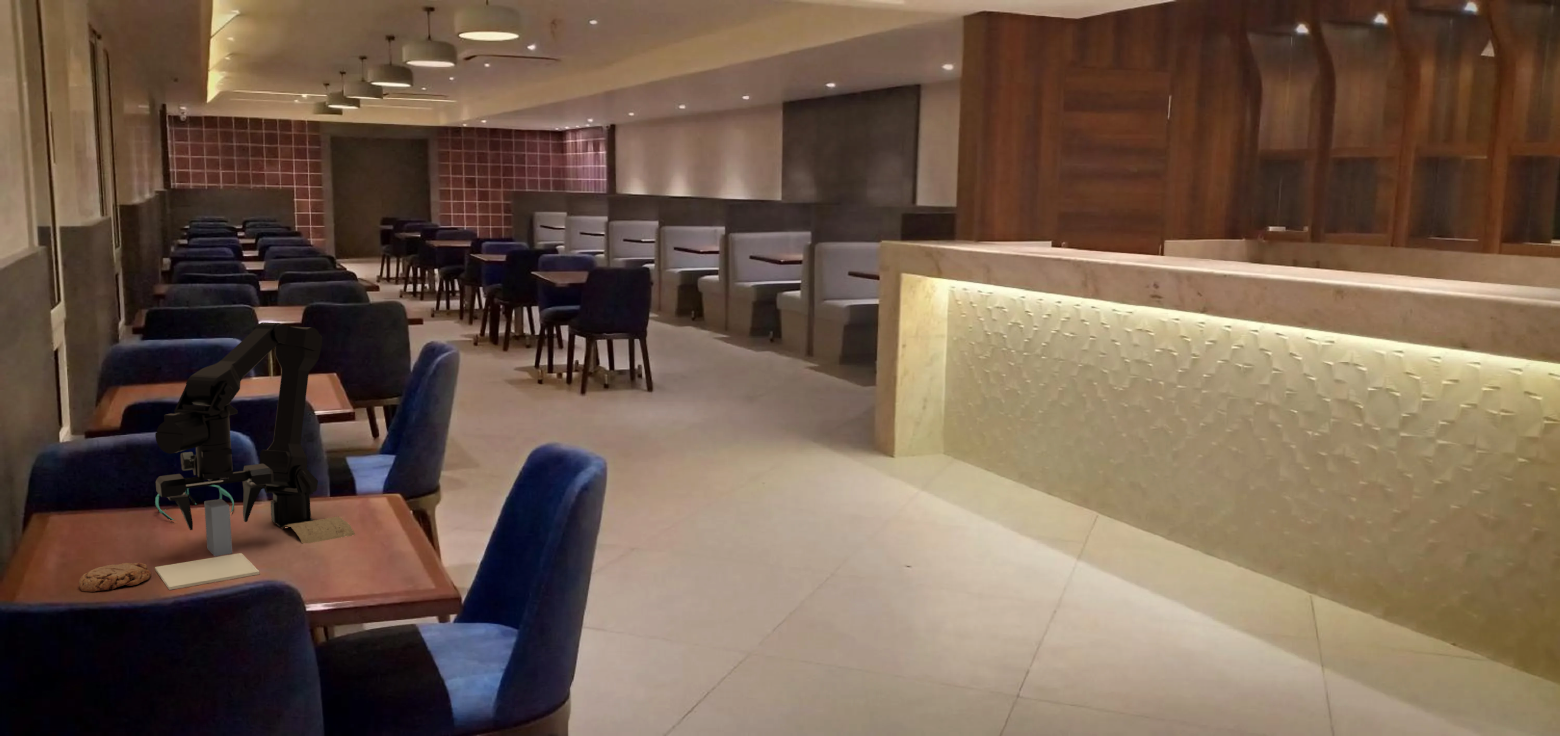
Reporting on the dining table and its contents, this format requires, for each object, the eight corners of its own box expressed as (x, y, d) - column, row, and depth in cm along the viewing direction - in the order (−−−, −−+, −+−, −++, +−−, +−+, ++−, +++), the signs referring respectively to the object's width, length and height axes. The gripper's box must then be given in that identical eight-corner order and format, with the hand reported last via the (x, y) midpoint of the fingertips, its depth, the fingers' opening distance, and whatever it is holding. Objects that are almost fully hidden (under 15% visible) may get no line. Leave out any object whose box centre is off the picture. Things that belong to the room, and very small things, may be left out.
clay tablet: (357, 538, 222) (356, 525, 221) (303, 548, 215) (303, 534, 215) (330, 522, 233) (329, 509, 232) (278, 531, 226) (277, 518, 226)
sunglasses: (222, 500, 248) (221, 478, 247) (241, 522, 237) (241, 499, 236) (149, 510, 239) (148, 487, 238) (166, 533, 228) (165, 509, 227)
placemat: (241, 555, 209) (241, 552, 208) (259, 573, 198) (259, 571, 198) (155, 569, 200) (154, 566, 200) (169, 589, 190) (169, 586, 190)
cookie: (65, 590, 190) (63, 572, 190) (122, 571, 200) (121, 554, 200) (108, 597, 187) (107, 580, 186) (164, 578, 197) (163, 561, 196)
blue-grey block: (225, 545, 215) (222, 498, 213) (232, 553, 210) (230, 505, 209) (207, 548, 213) (204, 501, 212) (214, 556, 208) (211, 508, 207)
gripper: (256, 429, 220) (261, 508, 223) (147, 440, 209) (153, 523, 211) (272, 439, 212) (276, 521, 214) (158, 451, 200) (165, 538, 203)
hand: (218, 525), depth 211 cm, fingers open, 9 cm apart
